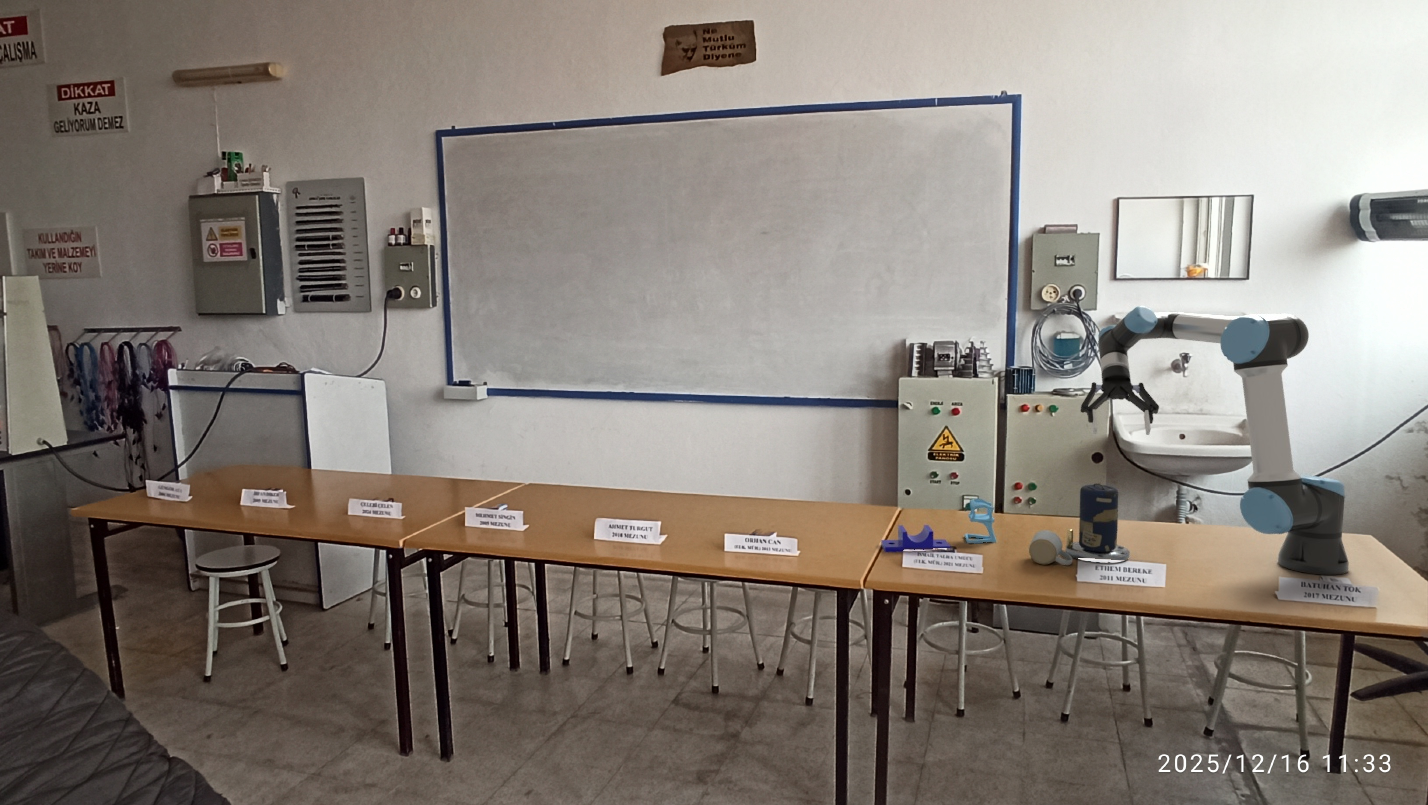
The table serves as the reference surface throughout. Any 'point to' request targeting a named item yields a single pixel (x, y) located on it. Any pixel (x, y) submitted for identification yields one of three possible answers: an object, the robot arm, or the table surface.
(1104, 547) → the canister
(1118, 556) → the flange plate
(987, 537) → the light blue stand
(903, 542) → the mounting bracket
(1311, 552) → the robot arm
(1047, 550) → the ceramic mug
